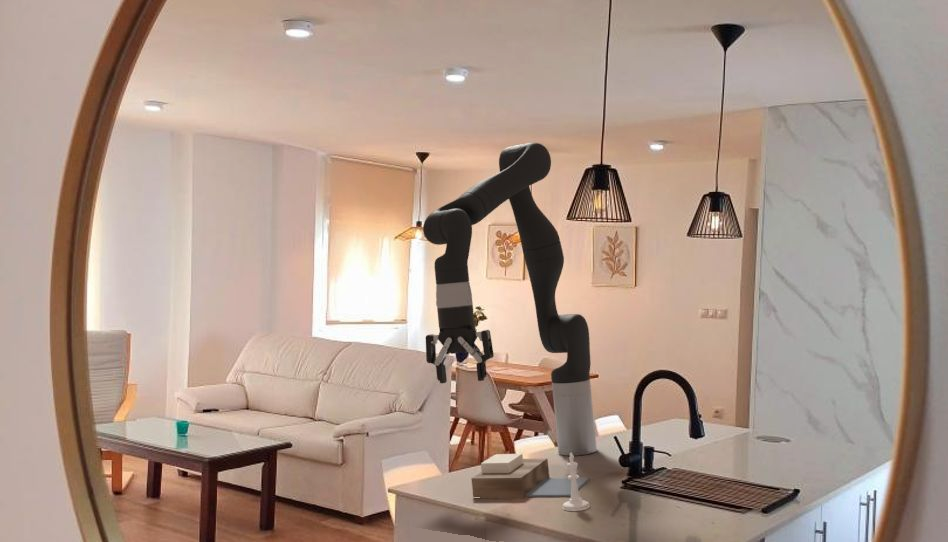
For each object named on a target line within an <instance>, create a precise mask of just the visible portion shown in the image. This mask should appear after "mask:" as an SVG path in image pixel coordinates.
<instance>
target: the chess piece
mask: <svg viewBox="0 0 948 542" xmlns="http://www.w3.org/2000/svg"><path fill="white" fill-rule="evenodd" d="M574 458H575V455H573V453H570V455H569V457H568V460H569V462H567V463H566V467H567V469H568V472H569V475H568V476H567V478H568V479H571V497H570V498H569V500H568V501H565V502H564V503H563V504H562V510H564V511H567V512H582V511H585V510H588V509H589V508H591V507H590V503H589V501H587V500H584V499H583V498H582V497H581V496H580V491H579V490H578V486H577V481H576V479H577V478H580V476H579V475H578V474H577V468H578V464H579V463H578V462H576V461H574Z"/></svg>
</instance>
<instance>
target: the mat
mask: <svg viewBox="0 0 948 542" xmlns="http://www.w3.org/2000/svg"><path fill="white" fill-rule="evenodd" d="M576 481H577V486H578V491H579V490H580V489H581V488H582V487H583V486H584V485H586V483H587V482H589V481H590V477H579V478H577V479H576ZM548 497H549V498H550V497H551V498H554V497H556V498H560V497H561V498H563V497H564V498H567V497H568V498H569V497H570V498H571V479H568V477H559V478H558V477H555V478H553V477H549V478H545V479H544V480H542V481H541V482H540V483H539V484H538V485H536V486H535V487H534V488H533V489H531V490H530V491H529V492H528V493H526V494H525V497H524V498H548Z"/></svg>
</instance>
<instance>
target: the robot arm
mask: <svg viewBox="0 0 948 542" xmlns="http://www.w3.org/2000/svg"><path fill="white" fill-rule="evenodd" d="M551 158H552V157H551V155H550V152H549V150H548V149H547V147H546V146H544V144H542V143H539V142H525V143H523V144H522V143H521V144H516V145H511V146H508V147H505V148H504V149H502V150H501V152H500V153H499V158H498V167H499V172H497V173H495V174H493V175H491V176H489V177H487V178H484V179H483V180H481V181H478V182H477V183H476V184H474V185H472V186H471V187H470V188H469V189H467V190H466V191H464V192H463V193H461V195H459V197H457V198H456V199H454V200H452V201H450V202H448V203H446V204H444V205H442V206H440V207H439V208H436V209H435V210H433V211H432V212H430V213H429V214H428V215H427V217H426V218H425V220H424V223H423V225H422V227H423V228H422V230H423V231H422V232H423V235H424V237H425V239H426V240H427V241H428V242H429V243H431V244H433V245H438V246H439V245H446V246H445V251H444V253H443V254H442V255H440V256H439V257H436V259H435V261H434V276H435V285H436V286H435V290H436V291H435V300H436V301H435V305H436V309H437V320H438V321H437V323H438V329H439V333H438V334H434V333H431V334H430V333H429V334H426V336H425V354H426V356H425V357H426V363H428V364H432V365H434V366H435V369H436V371H435V372H436V379H437V381H438V382H439V383H440V384H445V383H447V381H448V380H447V370H446V369H447V368H446V364H444V363H445V361H447V358H448V357H449V356H450V355H451V354H453V355H454V354H457V353H460V354H463V353H464V354H466V353H468V354H469V355H470V356H472V357H473V359H475V361H476V362H477V363H476V364H475V365H476V373H477V375H476V376H477V381H478V382H483V381H485V378H487V363H486V362H487V361H488V360H490V359H492V358H494V356H495V354H494V349H493V348H494V347H493V341H492V336H491V330H490V329H484V330H482V331H477V330H476V328H475V327H476V326H475V315H474V306H473V303H474V302H473V294H472V289H471V288H472V287H471V284H470V276H469V267H468V266H469V265H468V261H469V256H470V249H471V244H472V237H473V226H475V225H476V224H479V222H481V221H482V220H483V219H485V218H486V217H487V216H488V215H490V214H491V213H492V212H494V211H495V210H496V209H497V208H498V207H499V206H501V205H502V204H504V203H505V202H506V201H508V200H509V204H510V206H511V209H512V213H513V216H514V220H515V223H516V227H517V231H518V235H519V240H520V246H521V249H522V254H523V258H524V262H525V265H526V269H527V273H528V277H529V282H530V285H531V290H532V295H533V301H534V306H535V307H534V308H535V313H536V321H537V327H538V328H537V329H538V334H539V339H540V342H541V345H542V346H543V348H544V349H545V351H546V352H548V353H551V354H562V353H563V354H567V355H566V361H565V363H563V364H562V365H561V366H559V367H556V368H554V369H553V370H552V371H550V377H551V379H550V380H551V387H552V396H553V407H554V408H553V409H554V417H555V418H554V419H555V430H556V441H557V450H558V454H559V455H562V456H570V453H573V456H581V455H582V456H583V455H588V454H589V455H590V454H592V453H596V452H597V441H596V438H597V437H596V429H595V428H596V427H595V419H594V418H595V417H594V408H593V407H594V406H593V405H594V404H593V396H592V389H591V388H592V387H591V386H592V385H591V379H590V378H591V377H590V376H591V375H590V372H591V348H590V347H591V345H590V329H589V326H588V322H587V320H586V318H585V317H584V316H583V315H582V314H579V313H569V314H559V313H558V309H557V304H556V291H557V287H558V283H559V281H560V278H561V275H562V272H563V269H564V263H565V257H564V251H563V248H562V243H561V239H560V235H559V233H558V231H557V229H556V228H555V226H554V225H553V224H552V222H551V221H550V219H549V218H548V217H547V216H546V215H545V214H544V213H543V211H542V210H541V209H540V208H539V206H538V205H537V204H536V202H535V199H534V197H533V194H532V190H531V186H532V185H533V184H536V183H538V182H540V181H542V180H544V179H546V177H547V176H548V175H549V174H550V171H551V167H552V159H551ZM477 339H478V340H479V342H481V343H482V349H483V353H482V352H481V348H480V347H478V346H477V344H476V343H475V342H476V341H477ZM438 341H439V343H440V344H441V346H442V347H441V349H440V350H439V352H438V355H437V354H436V353H437V350H436V349H437V348H436V345H437V344H438Z"/></svg>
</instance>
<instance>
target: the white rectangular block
mask: <svg viewBox="0 0 948 542" xmlns="http://www.w3.org/2000/svg"><path fill="white" fill-rule="evenodd" d="M523 459H524V457H523V453H502V454H501V453H498V454H497V453H496V454H494V455H492V456H491V457H488V458H487V459H485V460H483V462H481V463H480V469H481V472H482V473H510V472H511V471H513V470H514V469H516V468H517V467H518V466H520V465H521V464H523Z"/></svg>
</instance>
